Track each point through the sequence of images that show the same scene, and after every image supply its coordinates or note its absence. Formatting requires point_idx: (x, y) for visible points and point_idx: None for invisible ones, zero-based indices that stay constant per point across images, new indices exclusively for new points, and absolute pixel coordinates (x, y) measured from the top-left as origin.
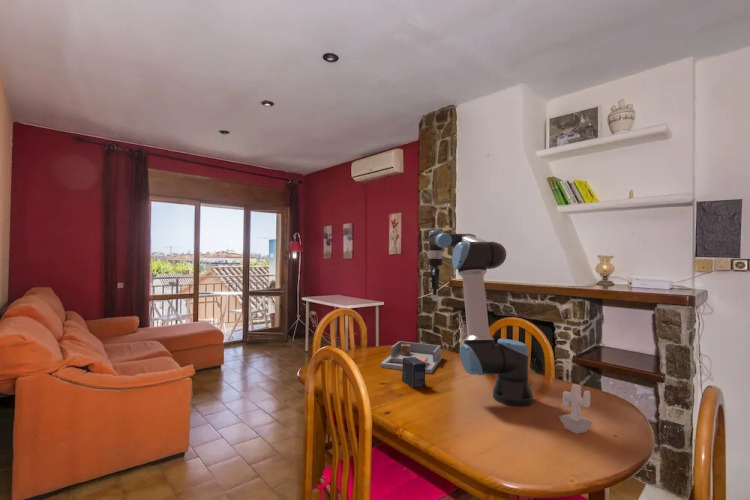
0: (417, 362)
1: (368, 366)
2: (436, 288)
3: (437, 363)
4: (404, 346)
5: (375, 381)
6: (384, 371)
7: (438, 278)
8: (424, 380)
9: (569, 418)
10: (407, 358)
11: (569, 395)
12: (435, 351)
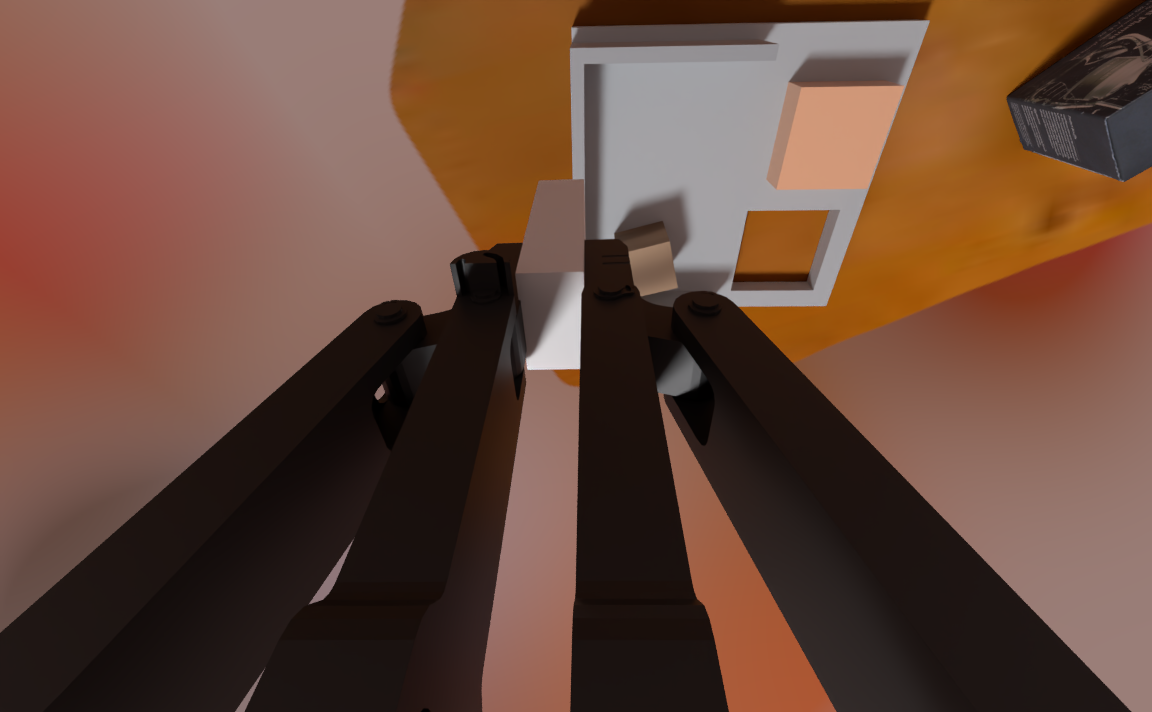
0: None
1: (814, 339)
2: (635, 294)
3: (730, 23)
4: (674, 270)
5: (1020, 255)
6: (879, 264)
7: (243, 504)
8: None
9: None
10: (1149, 151)
11: None
12: (756, 44)
